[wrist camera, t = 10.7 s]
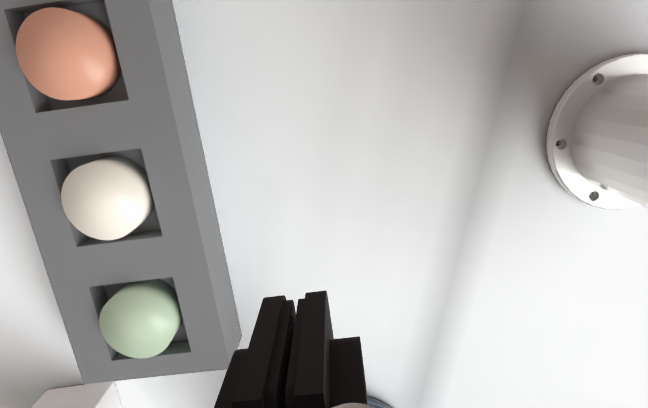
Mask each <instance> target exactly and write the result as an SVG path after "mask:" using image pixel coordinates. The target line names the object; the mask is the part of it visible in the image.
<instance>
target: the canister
mask: <svg viewBox="0 0 648 408" xmlns="http://www.w3.org/2000/svg"><path fill="white" fill-rule="evenodd" d="M367 400H368V405H369V406H371V407H374V408H392V407H390V406H389V405H387V404H385V403H383V402H381V401H379V400H377V399H374V398H370V397H367Z"/></svg>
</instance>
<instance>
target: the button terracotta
mask: <svg viewBox="0 0 648 408" xmlns="http://www.w3.org/2000/svg"><path fill="white" fill-rule="evenodd" d="M16 56H17V60H18V63H19V66H20V68H21V70H22V72H23V74H24V75H25V77H26V78H27V80H28V81H29V82H30V83H31V84H32V85H33V86H34V87H35V88H36V89H37V90H39V91H40V92H42V93H43V94H45V95H47V96H49V97H52V98H55V99H59V100H79V99H90V98H97V97H100V96H102V95H104V94H106V93H107V92H109V91H110V90H111V89H112V88H113V87H114V86H115V84H116V83H117V81H118V79H119V77H120V74H121V66H120V62H119V58H118V54H117V50H116V46H115V42H114V38H113V33H112V32H111V31H110V30H109V29H108V27H107V26H106V25H104V24H103V23H102V22H101V21H99V20H97V19H96V18H94V17H92V16H89V15H86V14H82V13H78V12H74V11H70V10H67V9H62V8H55V7H50V8H44V9H40V10H38V11H35V12H34V13H32V14H31V15H29V16H28V17H27V18H26V19H25V20H24V21H23V23H22V25H21V26H20V28H19V31H18V34H17V37H16Z"/></svg>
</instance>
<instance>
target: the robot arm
mask: <svg viewBox="0 0 648 408" xmlns="http://www.w3.org/2000/svg"><path fill="white" fill-rule="evenodd" d="M593 77H594V81H593ZM557 141H559V143H558V145H556V143H557ZM546 148H547V155H548V161H549V164H550V167H551V169H552V172H553V174H554V176H555V177H556V179H557V181H558V182H559V184H560V185H561V186H562V187H563V188H564V189H565V190H566V191H567V192H568V193H569V194H571V195H572V196H574V197H576V198H577V199H579V200H581V201H583V202H585V203H587V204H589V205H592V206H595V207H599V208H603V209H615V210H620V209H629V208H635V207H638V206H644V207H646V208H648V53H638V54H629V55H622V56H618V57H615V58H612V59H609V60H606V61H603V62H602V63H600V64H598V65H596V66H594V67H592V68H590V69H589V70H588V71H586V72H585V73H584V74H583V75H581V76H580V77H579V78H577V79H576V80H575V82H574V83H573V84H572V85H571V86H570V87H569V88H568V89H567V90H566V91H565V93H564V94H563V96H562V97H561V99H560V100H559V102H558V103H557V105H556V108H555V110H554V112H553V114H552V117H551V119H550V123H549V128H548V132H547V145H546ZM589 194H590V195H589ZM214 408H374V407H371V406H369V405H368V400H367V391H366V383H365V374H364V366H363V358H362V350H361V342H360V337H351V338H341V339H334V338H333V331H332V324H331V317H330V310H329V304H328V297H327V292H326V291H319V292H310V293H306V295H305V299H298V305H297V312H295V306H294V302H293V300H287V301H286V297H285V296H275V297H266V298H264V299H263V301H262V305H261V308H260V311H259V314H258V318H257V321H256V324H255V328H254V331H253V334H252V337H251V341H250V344H249V347H248V349H239V350H235V351H234V353H233V356H232V358H231V361H230V364H229V367H228V370H227V372H226V375H225V378H224V381H223V384H222V387H221V389H220V392H219V395H218V398H217V401H216V404H215V406H214Z"/></svg>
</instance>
